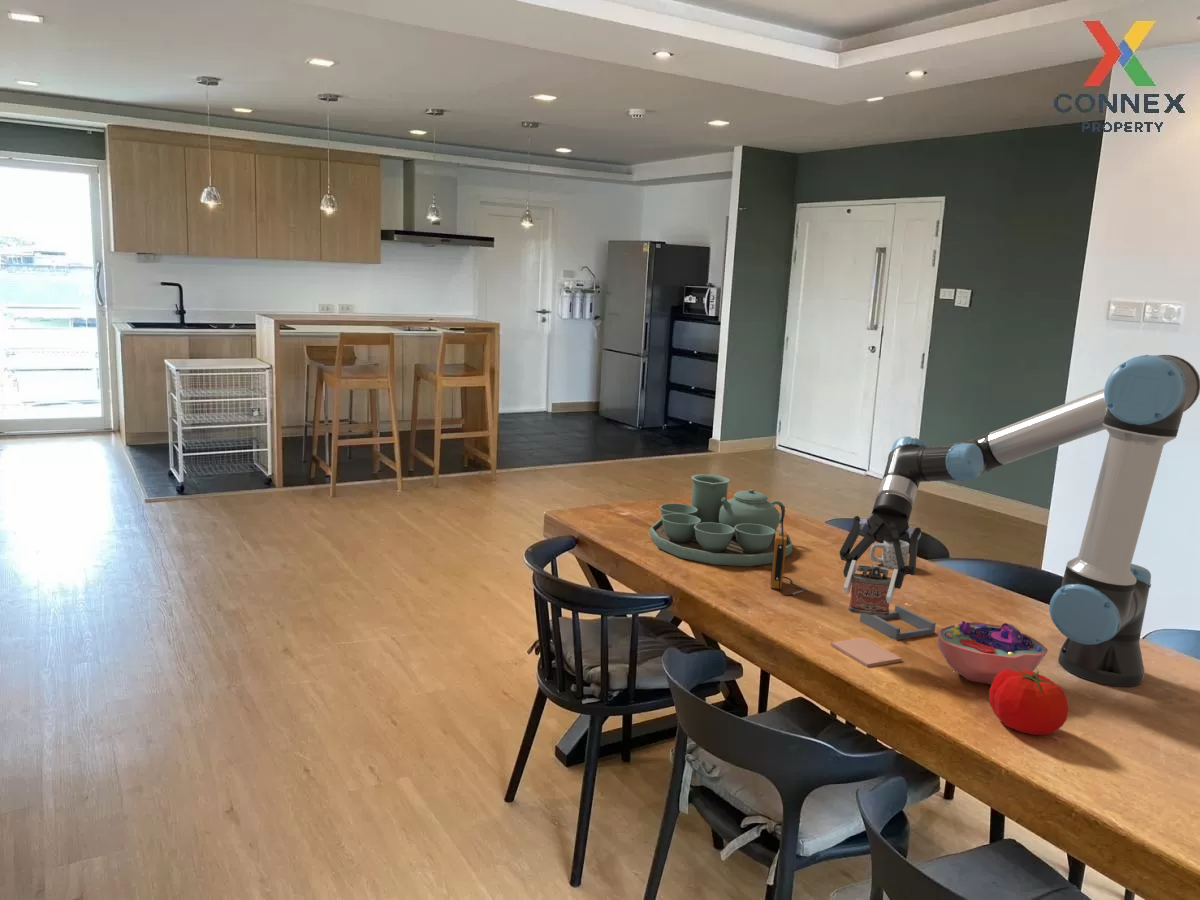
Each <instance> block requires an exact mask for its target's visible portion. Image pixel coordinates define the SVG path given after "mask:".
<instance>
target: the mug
mask: <svg viewBox="0 0 1200 900" xmlns="http://www.w3.org/2000/svg"><path fill="white" fill-rule="evenodd" d="M899 542H900V546H901V551H902V556H903V561H904V565H905V566H908V561H909V554H910V542H908V541H904V540H901V539H899ZM877 548H879V549H882V555H881V557H875V550H876V549H877ZM869 557H870V560H871V561H873V562H875V563H880V564H881V567H884V568H888V569H889V570H890V569H891V570H894V569H898V565H897V560H896V555H895V550H894V546H893V542H892V543H890V542H887V541H884V540H883V542H882V543H873V544H871V547H870V553H869Z"/></svg>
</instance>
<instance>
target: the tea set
mask: <svg viewBox="0 0 1200 900" xmlns="http://www.w3.org/2000/svg"><path fill="white" fill-rule="evenodd" d="M691 480H692V491H691V503H690V505H689V504H684V503H677V502H676V503H675V502H674V503H670V502H669V503H664V504H661V505H660V506H659V510H660V514H661V515H660V519H659V520H657V521H656V522H655V523H654V524H653V525H652V526H650V528H649V530H650V531H649V535H650V538H651V539H652V541H653V542H654V544H655V546H656V547H657V549H659V550H661V551H665V552H666V553H669V554H671V555H673V556H675V557H678V558H680V559H684V560H689V561H693V560H694V561H695V562H699V563H704V564H708V565H714V566H718V565H719V566H731V567H754V566H762V565H771V564H772V562H773V552H774V542H775V534H776V531H780V530H781V529H778V527H779V525H781V518H782V510H781V506H782V509H783V510H784V507H785V506H784V504H783V503H782V502H781V501H779V500H772V501H769V500H768V496H767V495H766V494H764V493H763V492H759V491H755V489H752V488H750V489H748V490H739V491H737V492H735V493H734V495H733V497H732V498H730V499H728V498H727V497H728V489H729V488H728V485H729V483H730V481H731V480H730V479H729V478H728V477H725V476H723V475H717V474H701V473H700V474H695V475H691ZM775 505H777V506H779V508H780V512H779V510H778V509H777V507H776V506H775ZM783 506H784V507H783ZM785 516H786V509H785V510H784V517H785ZM792 552H793V542H792V540H791V537H790V535H789V534H788V533H787V543H786V553H785V558H787V557H788V556H790V555H791V553H792ZM694 561H693V562H694Z"/></svg>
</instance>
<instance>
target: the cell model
mask: <svg viewBox="0 0 1200 900" xmlns="http://www.w3.org/2000/svg"><path fill="white" fill-rule="evenodd" d="M937 646H938V649H939V651H940V653H941V654H942V656H943V657H944V659H945V661H946V663H947V664H948V666H949V667H950V668H951V669H953V670H954V671H955V672H956V673H958V674H959V675H961V676H962V677H963V678H965V679H966V680H967V681H971V682H974V683H978V684H979V683H981V684H988V685H992V682H993V680H994V677H995V676H997V675H998V674H999V673H1000V672H1001V671H1002V670H1006V669H1009V670H1013V671H1019V670H1027V671H1032V672H1035V670H1036V669H1037V667H1039V665H1040V664H1041V662H1042V661H1043V659H1044V658H1045V656H1046V654H1047V653H1048V648H1047V646H1045V645H1044V644H1043V643H1041V641H1038V640H1037V639H1036V638H1034V637H1032V636H1030V635H1028V634H1026V633H1023V632H1021V630H1019V628H1017V626H1015V625H1013V624H1011V623H1007V622H1005V623H1002V625H997V624H988V623H982V622H979V621H965V620H962V621H961V622H956V623H951V624H948V625H946V626H943V627H940V628H938V629H937ZM1014 666H1015V667H1014ZM1017 668H1018V669H1019V670H1018V669H1017Z"/></svg>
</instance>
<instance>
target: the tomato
mask: <svg viewBox="0 0 1200 900" xmlns="http://www.w3.org/2000/svg"><path fill="white" fill-rule="evenodd" d="M1014 667H1015V666H1014ZM1017 669H1018V668H1017ZM1018 670H1019V669H1018ZM1039 672H1040V671H1039V670H1038V671H1037V672H1035V671H1033V672H1032V671H1027V670H1019V671H1013V670H1009V669H1006V670H1002V671H1001V672H1000V673H999V674H998V675H997V676H995V677H994V680H993V682H992V684H990V688H989V691H988V693H989V695H988V696H989V699H988V700H989V701H988V702H989V705H990V707H991V709H992V712H993V713H994V715H995V717H996V718H998V720H999V721H1000V722H1002V723H1003V725H1004V726H1006V727H1007V728H1010V729H1012V730H1015V731H1017V732H1020V733H1023V734H1024V733H1025V734H1029V735H1033V736H1034V735H1035V736H1037V735H1042V736H1043V735H1044V736H1045V735H1046V736H1047V735H1051V734H1053V733H1055V732H1057V731H1058V730H1059V729H1061V728H1062V727H1063V726H1064V724H1065V723H1066V720H1067V718H1068V714H1069V702H1068V698H1067V694H1066V693H1065V691H1064V689H1062V687H1060V686H1059V685H1058V684H1056V683H1055V682H1054V681H1052V680H1051V679H1049V678H1047V677H1046V676H1044V675H1042V674H1039Z"/></svg>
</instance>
